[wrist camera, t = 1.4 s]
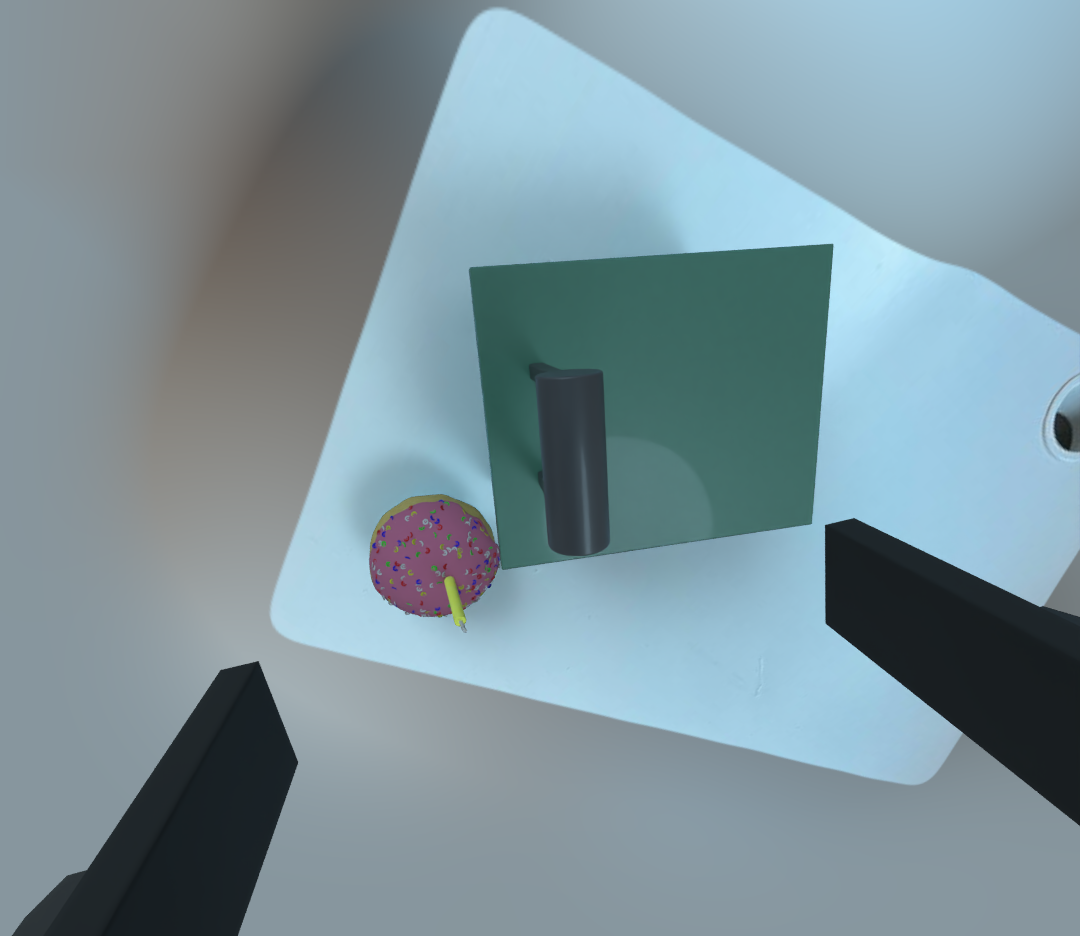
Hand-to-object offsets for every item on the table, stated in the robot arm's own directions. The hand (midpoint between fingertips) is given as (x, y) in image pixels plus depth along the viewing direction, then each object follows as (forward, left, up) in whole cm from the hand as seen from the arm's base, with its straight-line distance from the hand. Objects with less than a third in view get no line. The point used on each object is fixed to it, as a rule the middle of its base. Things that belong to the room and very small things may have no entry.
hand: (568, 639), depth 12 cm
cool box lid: (+8, +2, -14) cm, 16 cm away
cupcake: (-5, -8, -27) cm, 29 cm away
